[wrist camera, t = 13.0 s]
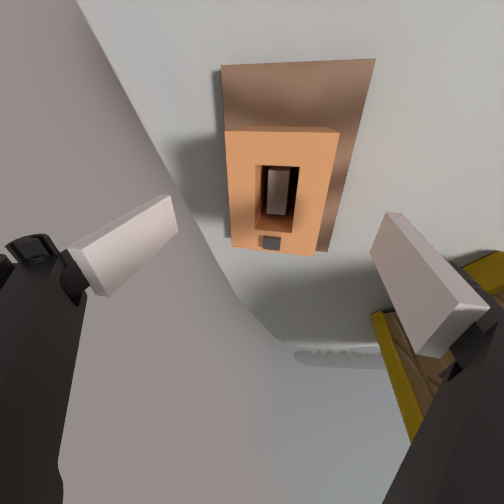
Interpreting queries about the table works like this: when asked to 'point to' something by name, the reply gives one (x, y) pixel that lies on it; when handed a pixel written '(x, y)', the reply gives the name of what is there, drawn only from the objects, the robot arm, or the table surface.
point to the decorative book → (423, 367)
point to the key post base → (300, 117)
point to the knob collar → (256, 185)
